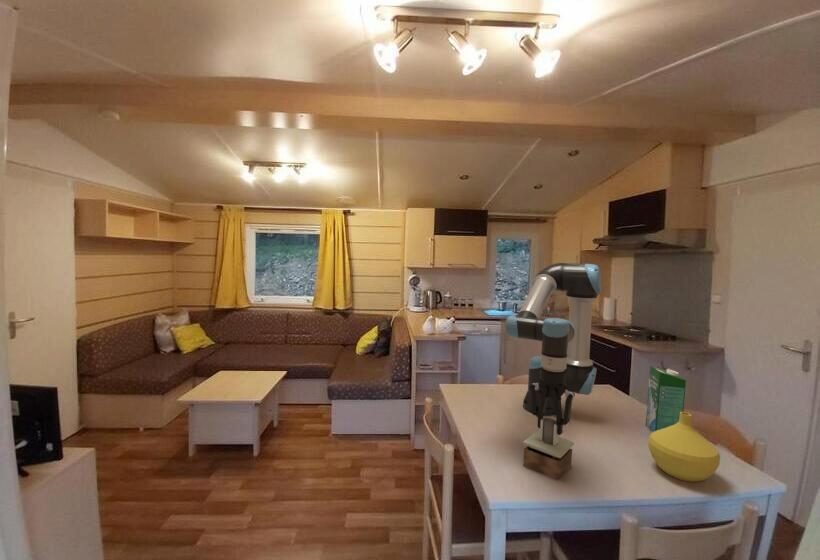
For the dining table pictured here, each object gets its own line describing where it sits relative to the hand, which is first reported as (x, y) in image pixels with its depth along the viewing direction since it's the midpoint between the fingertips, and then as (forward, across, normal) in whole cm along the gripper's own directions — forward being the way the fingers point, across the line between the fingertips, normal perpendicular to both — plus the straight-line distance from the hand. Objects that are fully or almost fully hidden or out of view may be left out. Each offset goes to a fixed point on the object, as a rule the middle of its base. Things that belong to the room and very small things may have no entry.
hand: (549, 440), depth 120 cm
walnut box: (+8, 0, 0) cm, 9 cm away
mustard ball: (+8, +2, +2) cm, 8 cm away
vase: (+9, +32, +27) cm, 43 cm away
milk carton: (+10, +23, +58) cm, 63 cm away
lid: (+1, 0, 0) cm, 1 cm away
